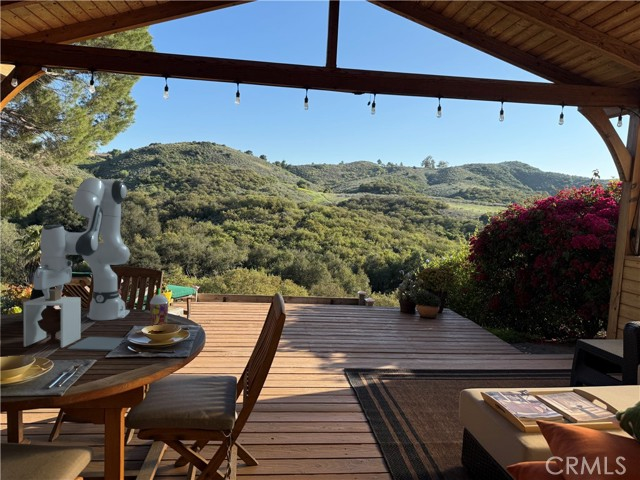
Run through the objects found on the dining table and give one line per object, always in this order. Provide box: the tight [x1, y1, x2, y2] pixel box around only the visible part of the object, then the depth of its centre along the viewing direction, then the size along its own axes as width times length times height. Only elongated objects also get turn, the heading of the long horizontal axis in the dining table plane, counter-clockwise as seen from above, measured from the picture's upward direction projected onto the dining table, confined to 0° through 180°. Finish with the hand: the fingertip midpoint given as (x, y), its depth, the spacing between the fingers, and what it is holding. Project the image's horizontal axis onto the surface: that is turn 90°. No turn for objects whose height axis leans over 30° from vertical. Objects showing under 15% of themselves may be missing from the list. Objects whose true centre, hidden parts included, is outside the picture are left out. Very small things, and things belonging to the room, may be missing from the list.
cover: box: [23, 288, 82, 349], centre depth 177 cm, size 13×16×22 cm
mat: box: [66, 336, 125, 352], centre depth 176 cm, size 16×18×1 cm
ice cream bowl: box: [37, 306, 61, 345], centre depth 177 cm, size 11×11×15 cm
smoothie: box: [149, 288, 170, 327], centre depth 199 cm, size 8×8×20 cm
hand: (53, 296), depth 176 cm, fingers open, 6 cm apart
